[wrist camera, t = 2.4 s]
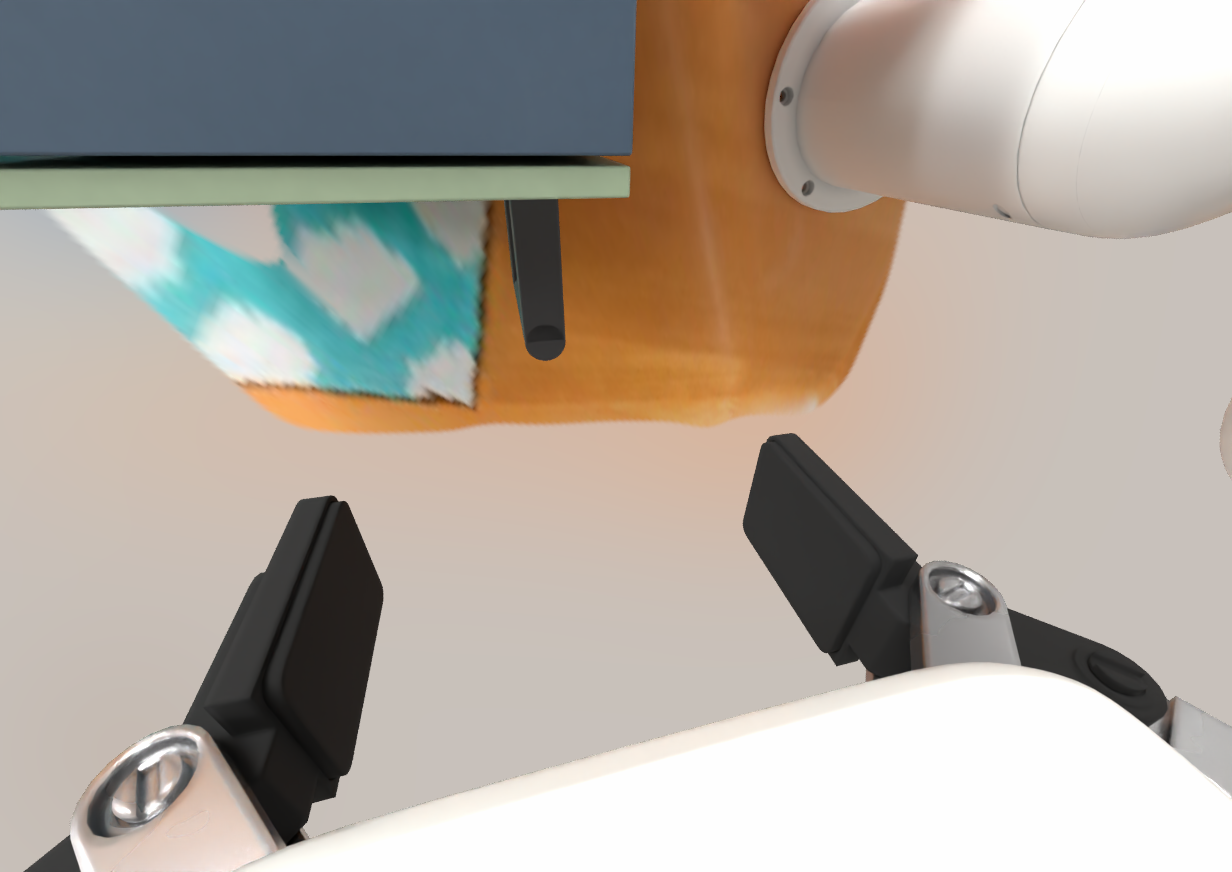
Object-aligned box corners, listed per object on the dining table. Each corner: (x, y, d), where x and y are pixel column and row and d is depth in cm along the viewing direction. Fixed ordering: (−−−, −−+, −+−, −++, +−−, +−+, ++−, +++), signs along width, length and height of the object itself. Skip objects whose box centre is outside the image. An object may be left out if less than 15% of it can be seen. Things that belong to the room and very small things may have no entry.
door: (561, 268, 30) (625, 390, 17) (250, 284, 27) (19, 454, 13) (554, 140, 26) (631, 166, 13) (187, 137, 23) (-237, 170, 9)
